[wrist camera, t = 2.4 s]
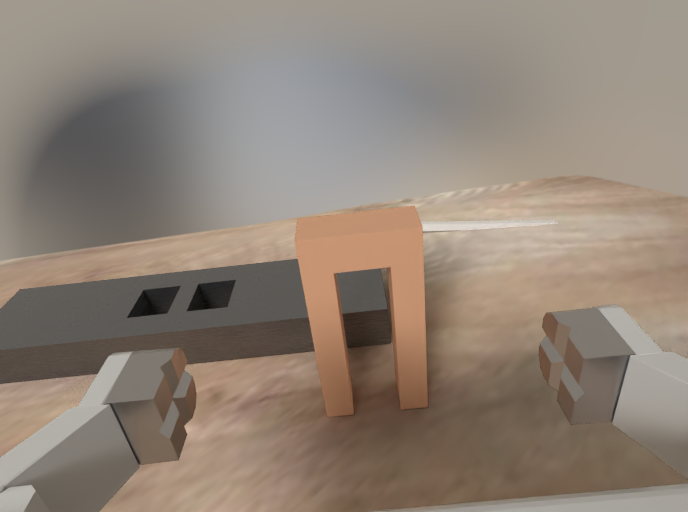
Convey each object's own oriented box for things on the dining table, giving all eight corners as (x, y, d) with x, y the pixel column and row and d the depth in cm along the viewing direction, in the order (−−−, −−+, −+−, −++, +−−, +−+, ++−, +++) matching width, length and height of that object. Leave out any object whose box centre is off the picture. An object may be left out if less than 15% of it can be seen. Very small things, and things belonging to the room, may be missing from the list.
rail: (35, 317, 41) (20, 289, 39) (379, 280, 40) (377, 250, 38) (-24, 386, 34) (-46, 354, 32) (390, 343, 33) (387, 308, 31)
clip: (327, 387, 30) (297, 218, 24) (421, 377, 30) (414, 205, 24) (327, 417, 28) (294, 241, 22) (427, 407, 28) (422, 226, 22)
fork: (562, 237, 44) (565, 219, 43) (351, 245, 46) (350, 228, 45) (552, 221, 47) (554, 204, 46) (353, 229, 49) (352, 213, 48)
